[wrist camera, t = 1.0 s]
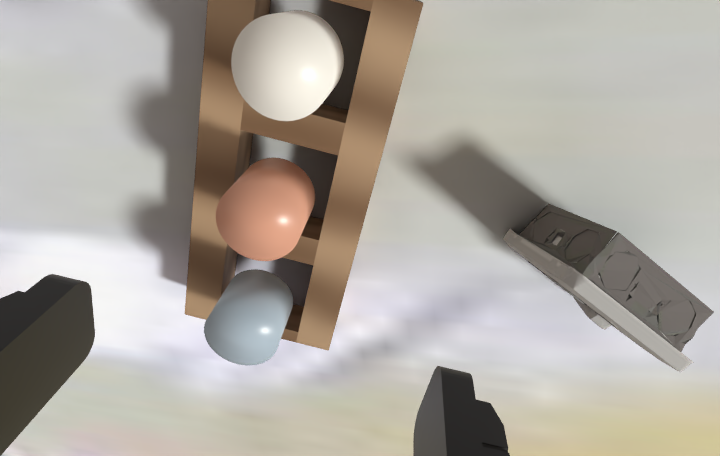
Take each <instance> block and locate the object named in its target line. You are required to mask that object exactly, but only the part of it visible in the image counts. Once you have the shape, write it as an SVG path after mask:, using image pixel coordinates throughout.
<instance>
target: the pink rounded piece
mask: <svg viewBox="0 0 720 456" xmlns="http://www.w3.org/2000/svg"><path fill="white" fill-rule="evenodd" d="M314 203H315V191H314V187H313V184H312V182H311V180H310V178H309V177H308V175H307V174H306V173H305V172H304V171H303V170H302V169H301V168H300V167H299V166H297V165H296V164H294V163H292V162H290V161H288V160H285V159H281V158H266V159H262V160H259V161H257V162H255V163H254V164H252V165H251V166H250V167H249V168H248V169H247V170H246V171H245V172H244V173H243V174H242V175H241V176H240V177H239V179H238V180H237V181H236V182H235V183H234V184H233V185H232V186H231V187H230V188H229V189H228V190H227V192H226V193H225V194H224V195H223V196H222V198H221V199H220V201H219V203H218V205H217V209H216V223H217V227H218V230H219V233H220V234H221V236H222V238H223V239H224V241H225V242H226V243H227V244H228V245H229V246H230V247H231V248H232V249H233V250H234V251H236V252H237V253H239V254H241V255H242V256H245V257H247V258H250V259H253V260H258V261H271V260H276V259H279V258H281V257H284V256H285V255H287V254H288V253H290V252H291V251H292V250H293V249H294V248H295V246H296V245H297V243H298V241H299V238H300V236H301V234H302V232H303V230H304V227H305V225H306V223H307V221H308V218H309V216H310V214H311V212H312V210H313V207H314Z"/></svg>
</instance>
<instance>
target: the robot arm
mask: <svg viewBox="0 0 720 456" xmlns="http://www.w3.org/2000/svg"><path fill="white" fill-rule="evenodd" d="M94 337H95V329H94V318H93V306H92V295H91V288H90V285H89V284H88V283H87V282H84V281H80V280H76V279H71V278H67V277H63V276H59V275H54V274H51V275H48V276H46V277H44V278H43V279H41V280H40V281H39V282H38V283H36V284H35V285H34V286H33V287H31V288H30V289H29V290H27V291H26V292H21V291H17V292H15V293H12V294H10V295H8V296H5V297H3V298H1V299H0V456H1V455H2V453H3V452H4V451H5V450H6V449H7V448H8V447H9V445H10V444H11V443H12V442H13V441H14V440H15V439H16V437H17V436H18V435H19V434H20V433H21V432H22V431H23V430H24V428H25V427H26V426H27V425H28V424H29V423H30V422H31V420H32V419H33V418H34V417H35V416H36V415H37V414H38V412H39V411H40V410H41V409H42V408H43V407H44V406H45V404H46V403H47V402H48V401H49V400H50V399H51V398H52V396H53V395H54V394H55V393H56V392H57V391H58V390H59V389H60V387H61V386H62V385H63V384H64V383H65V382H66V381H67V379H68V378H69V377H70V376H71V375H72V374H73V373H74V371H75V370H76V369H77V368H78V367H79V366H80V365H81V363H82V362H83V361H84V360H85V359H86V357H87V356H88V354H89V352H90V350H91V348H92V345H93V342H94ZM414 456H510V455H509V453H508V445H507V440H506V435H505V430H504V425H503V423H502V422H501V420H500V418H499V417H498V415H497V413H496V412H495V410H494V408H493V407H492V405H491V403H488V402H484V401H479V400H476V399H475V392H474V385H473V379H472V376H471V374H470V373H466V372H461V371H457V370H453V369H449V368H444V367H440V366H437V367H436V369H435V371H434V373H433V375H432V378H431V380H430V383H429V385H428V388H427V390H426V393H425V395H424V398H423V400H422V403H421V405H420V408H419V411H418V414H417V418H416V422H415V429H414Z"/></svg>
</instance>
